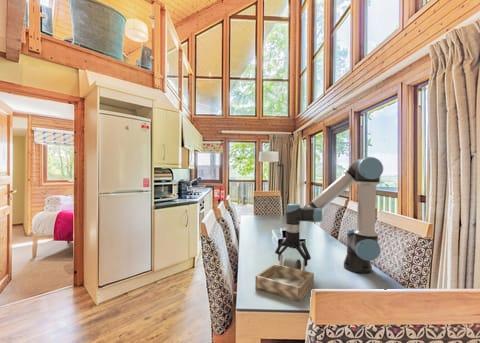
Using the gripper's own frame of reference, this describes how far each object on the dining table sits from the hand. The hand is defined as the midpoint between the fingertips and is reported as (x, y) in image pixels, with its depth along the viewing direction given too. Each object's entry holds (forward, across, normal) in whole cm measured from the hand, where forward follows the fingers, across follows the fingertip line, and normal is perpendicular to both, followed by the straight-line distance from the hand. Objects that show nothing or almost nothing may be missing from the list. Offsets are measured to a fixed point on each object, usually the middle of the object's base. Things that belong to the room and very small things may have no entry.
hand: (292, 269), depth 141 cm
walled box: (+2, +4, -20) cm, 20 cm away
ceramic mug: (+2, 0, -1) cm, 2 cm away
